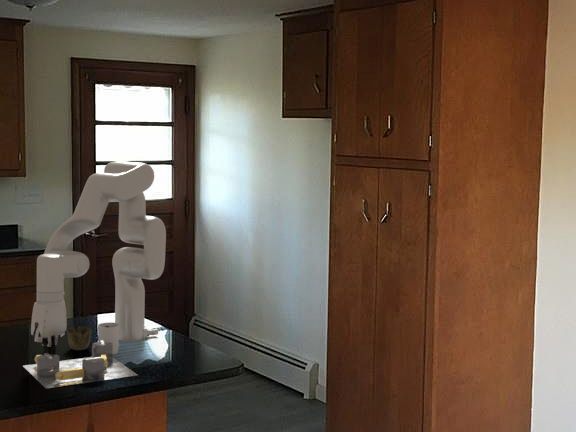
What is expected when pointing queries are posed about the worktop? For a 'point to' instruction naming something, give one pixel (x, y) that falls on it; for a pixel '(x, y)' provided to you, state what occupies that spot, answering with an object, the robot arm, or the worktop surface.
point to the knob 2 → (103, 351)
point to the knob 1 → (47, 365)
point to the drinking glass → (109, 334)
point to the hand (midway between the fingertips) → (49, 358)
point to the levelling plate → (111, 371)
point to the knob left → (85, 370)
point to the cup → (79, 338)
